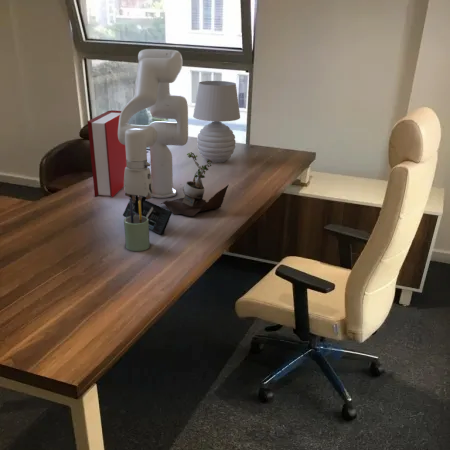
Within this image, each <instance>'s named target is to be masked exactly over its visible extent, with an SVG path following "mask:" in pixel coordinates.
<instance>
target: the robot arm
mask: <svg viewBox="0 0 450 450" xmlns="http://www.w3.org/2000/svg"><path fill="white" fill-rule="evenodd" d="M137 60H138V62H137V68H136V75H135V85H134V95H133V97H132V98H131V99H130V100H128V102H127V103H126V104H125V105H124V106H123V108H122V110H120V111H121V114H120V117H119V124H118V139H119V142H120V143H121V144H123V145H125V148H126V165H127V167H126V168H125V173H124V187H123V191H124V196H125V197H128V198H129V199H130V198H132V200H133V203H134V208H135V213H138V214H139V204H138V201H139V200H140V201H141V212H143V202H144V201H145V200H147V201H148V200H151V199H152V198H156V199H157V198H158V199H167V198H172V197H174V196H176V195H177V190H176V189H174V178H173V176H174V175H173V173H174V172H173V154H172V151H171V149H170V148H169V147H168V146H178V147H180V146H181V147H183V146H185V145H187V144H188V140H189V105H188V101H187V99H186V97H185V96H184V95H180V94H171V93H170V91H171V90H170V84H172V83H174V82H175V81H176V80H177V78H178V77H179V76H180V73H181V71H182V70H183V56H182V53H181V52H180V51H179V50H175V49H160V48H146V49H141V50H140V51H139V52H138V54H137ZM148 108H149V112H150V115H151V116H152V117H153V118H155V119H162V120H163V119H164V120H165V119H166V120H167V119H168V120H175V121H161V120H158V121H157V120H156V121H152V122H150V123H149V124H147V125H146V124H132V123H131V124H129V122H130V120H131V118H133V116H135V115H136V114H137V113H139V112H141V111H144V110H147V109H148ZM148 148H149V154H150V158H149V159H150V162H149V161H148V152H147V151H148ZM149 167H150V168H149Z"/></svg>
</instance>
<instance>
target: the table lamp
mask: <svg viewBox="0 0 450 450" xmlns="http://www.w3.org/2000/svg"><path fill="white" fill-rule="evenodd" d="M192 117H193V118H194V119H196V120H200V121H205V122H210V123H208V124H206V125H204V126H203V127H202V128H201V129H200V131H199V133H198V134H197V139H196V143H197V144H196V148H197V150H198V154H200V155H201V157H202V158H203V159H204V160H205V161H206V162H207V161H208V160H210V161H212V163H224V162H226V161H227V160H229V159H230V158H231V157H232V155H233V154H234V152H235V149H236V143H237V141H236V135H235V134H234V132H233V130H232V129H231V128H230V126H228V125H227V124H225V123H223V122H235V121H238V120H240V119H241V112H240V104H239V98H238V90H237V83H236V82H234V81H233V82H232V81H227V80H226V81H225V80H203V81H199V82H198V86H197V92H196V97H195V104H194V108H193V115H192Z"/></svg>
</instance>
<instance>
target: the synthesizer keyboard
mask: <svg viewBox="0 0 450 450" xmlns="http://www.w3.org/2000/svg"><path fill="white" fill-rule="evenodd" d="M132 204H133V216H139V214H138V213H135V208H134V203H133V200H132ZM172 214H173V213H172V212H171V211H169V210H168V209H167V208H164V207H162V206H160V205H157V204H155V203H153V202H151V201H149V200H148V199H147V200H145V201H144V202H143V212H141V215H142V216H144V217H147V218H148V220H149V231H152V232H154V233H156V234H159V235H160V236H162V235H164V234H165V231H166V229H167V226H168V224H169V221H170V219H171V217H172ZM122 216H123V217H124V218H127V217H130V216H131V215H130V200H128V203H127V205H126V207H125V209H124V211H123V213H122Z"/></svg>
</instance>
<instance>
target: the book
mask: <svg viewBox="0 0 450 450" xmlns="http://www.w3.org/2000/svg"><path fill="white" fill-rule="evenodd" d="M121 111H122V110H115V109H114V110H113V109H112V110H107V111H105V112H103V113H101V114H99V115H97V116H95V117H93V118H91V119H89V120H87V130H88V131H87V132H88V141H89V142H88V143H89V152H90V162H91V171H92V180H93V182H92V183H93V193H94V197H96V196H109V197H111V198H114V196H115V195H117V194H118V193H119V192H120V191H121V190H122V189H124V173H125V168H126V167H127V165H126V148H125V145H123V144H121V143H120V142H119V139H118V124H119V117H120V114H121Z"/></svg>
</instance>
